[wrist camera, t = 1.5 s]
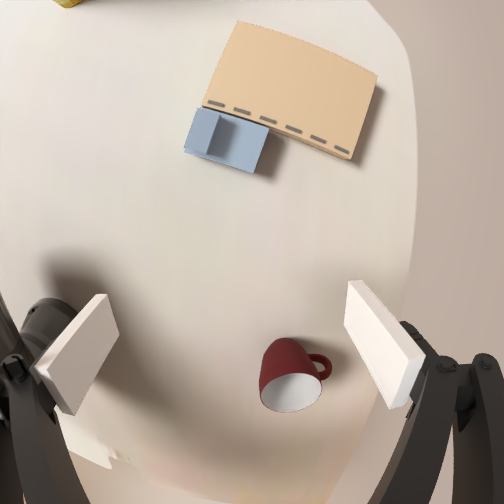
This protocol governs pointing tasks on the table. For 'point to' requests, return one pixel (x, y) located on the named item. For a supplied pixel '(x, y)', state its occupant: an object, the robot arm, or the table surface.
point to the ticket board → (291, 88)
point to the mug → (290, 376)
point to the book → (67, 3)
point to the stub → (226, 139)
